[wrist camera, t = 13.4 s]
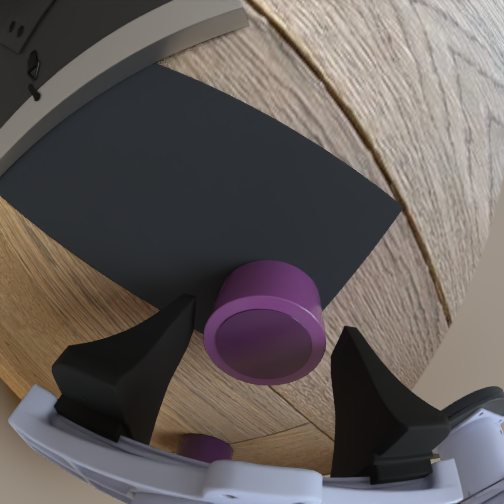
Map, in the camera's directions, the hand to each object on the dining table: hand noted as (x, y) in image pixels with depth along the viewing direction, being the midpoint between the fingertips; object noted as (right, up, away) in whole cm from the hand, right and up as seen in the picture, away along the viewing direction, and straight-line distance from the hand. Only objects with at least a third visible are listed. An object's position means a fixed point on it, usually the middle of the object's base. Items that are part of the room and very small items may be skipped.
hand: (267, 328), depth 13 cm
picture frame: (-13, +18, -4) cm, 23 cm away
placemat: (-9, +8, 0) cm, 12 cm away
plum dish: (0, +1, +2) cm, 2 cm away
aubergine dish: (-5, -16, +10) cm, 20 cm away
